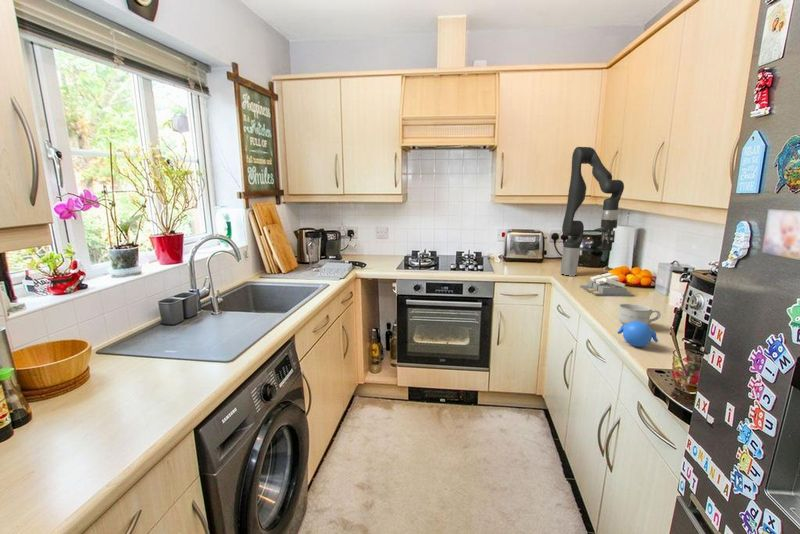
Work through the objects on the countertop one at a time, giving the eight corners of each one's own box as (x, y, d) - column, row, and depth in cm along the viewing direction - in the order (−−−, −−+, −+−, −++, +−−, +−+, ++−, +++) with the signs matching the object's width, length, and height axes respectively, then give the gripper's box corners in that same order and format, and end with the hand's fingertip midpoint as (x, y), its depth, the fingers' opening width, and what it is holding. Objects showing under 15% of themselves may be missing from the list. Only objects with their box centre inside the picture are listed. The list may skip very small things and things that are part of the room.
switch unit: (579, 287, 209) (580, 277, 208) (614, 287, 210) (616, 278, 209) (595, 295, 193) (597, 285, 192) (633, 296, 193) (635, 286, 192)
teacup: (615, 326, 150) (617, 307, 148) (617, 319, 159) (620, 300, 157) (658, 335, 142) (661, 314, 141) (658, 326, 151) (661, 306, 150)
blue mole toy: (658, 343, 135) (662, 320, 133) (655, 354, 126) (659, 329, 124) (619, 334, 142) (622, 312, 140) (613, 344, 133) (617, 321, 131)
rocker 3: (601, 280, 196) (602, 277, 196) (619, 285, 197) (621, 282, 197) (605, 282, 193) (606, 278, 192) (624, 287, 193) (625, 284, 193)
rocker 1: (590, 280, 208) (590, 277, 207) (609, 275, 207) (608, 272, 207) (594, 281, 204) (593, 278, 204) (613, 277, 204) (612, 274, 203)
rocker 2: (595, 282, 202) (595, 279, 202) (614, 278, 202) (614, 274, 201) (599, 284, 199) (599, 281, 198) (618, 279, 198) (618, 276, 198)
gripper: (598, 218, 211) (595, 247, 213) (605, 219, 197) (602, 251, 200) (613, 218, 209) (610, 248, 212) (621, 219, 195) (618, 251, 198)
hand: (606, 249), depth 206 cm, fingers open, 8 cm apart
